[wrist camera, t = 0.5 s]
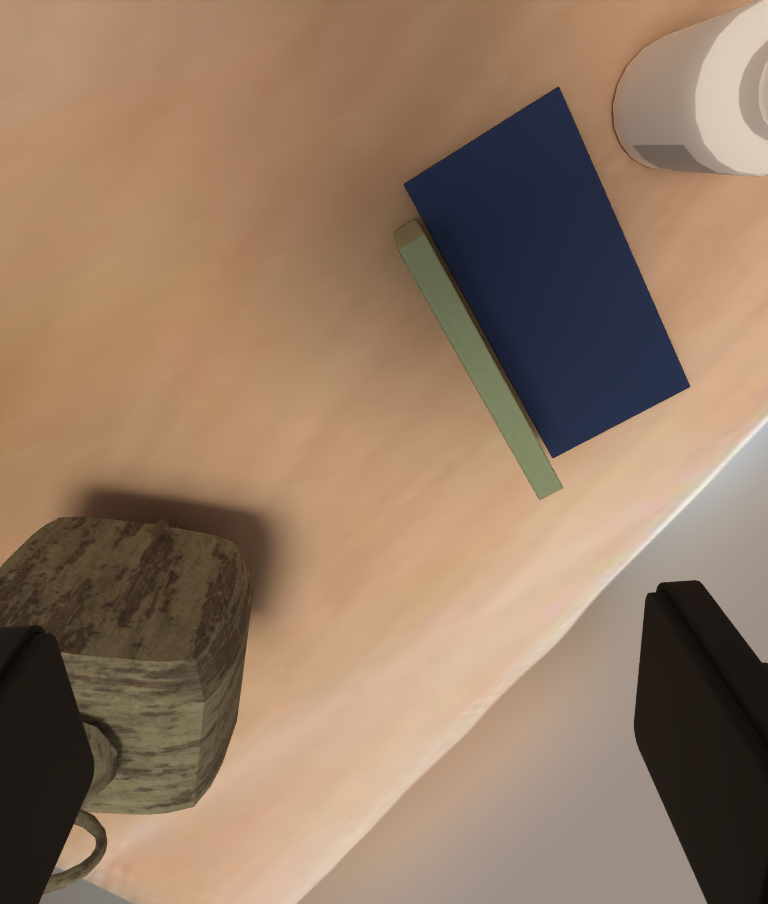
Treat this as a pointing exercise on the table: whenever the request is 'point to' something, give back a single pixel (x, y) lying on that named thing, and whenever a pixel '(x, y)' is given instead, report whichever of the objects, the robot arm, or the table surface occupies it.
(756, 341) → the table surface
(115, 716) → the tabletop clock
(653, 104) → the white capped bottle
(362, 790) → the table surface
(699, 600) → the robot arm
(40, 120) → the table surface
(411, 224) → the backboard
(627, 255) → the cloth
